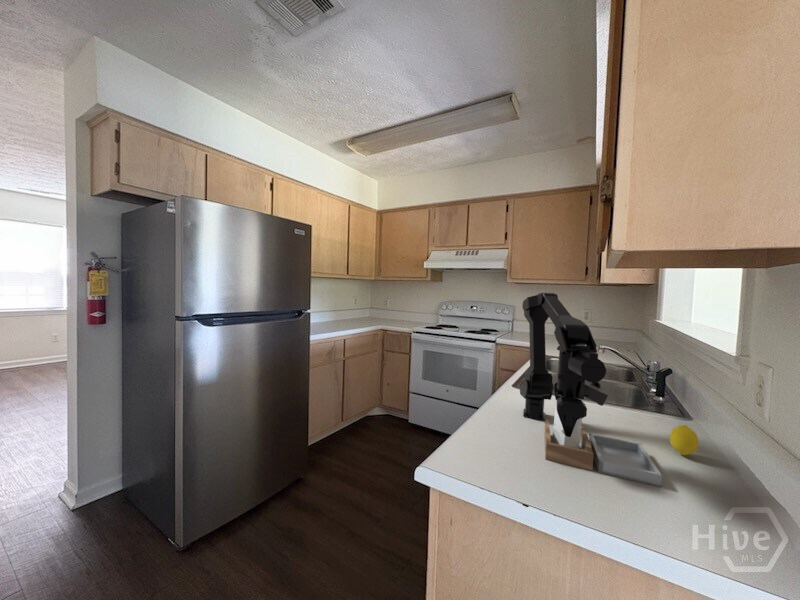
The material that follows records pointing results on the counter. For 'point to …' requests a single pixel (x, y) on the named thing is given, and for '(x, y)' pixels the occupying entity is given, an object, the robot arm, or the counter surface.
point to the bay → (569, 451)
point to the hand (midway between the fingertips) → (566, 429)
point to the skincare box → (560, 435)
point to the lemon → (684, 440)
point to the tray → (624, 460)
